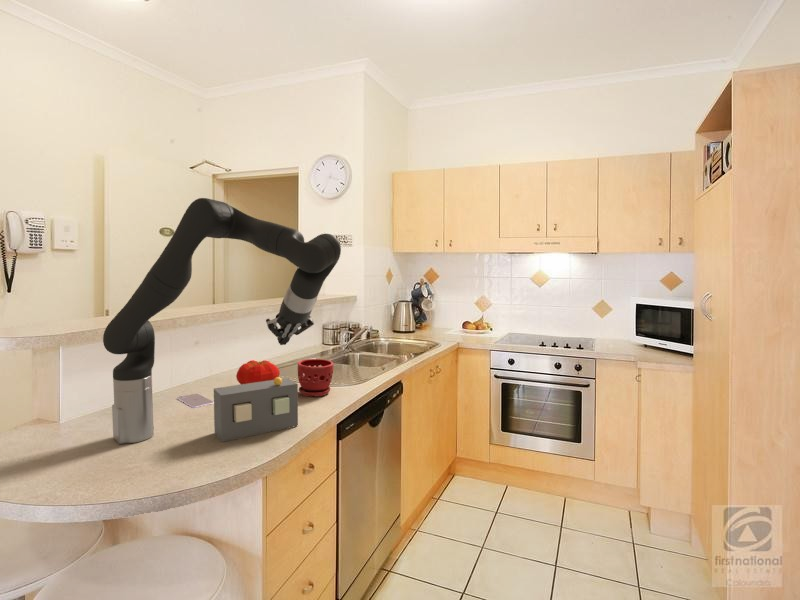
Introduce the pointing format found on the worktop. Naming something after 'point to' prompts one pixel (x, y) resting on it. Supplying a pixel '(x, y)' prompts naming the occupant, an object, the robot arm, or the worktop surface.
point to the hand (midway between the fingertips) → (281, 342)
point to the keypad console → (254, 408)
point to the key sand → (242, 412)
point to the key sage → (280, 405)
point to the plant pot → (315, 376)
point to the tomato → (257, 372)
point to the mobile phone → (195, 400)
